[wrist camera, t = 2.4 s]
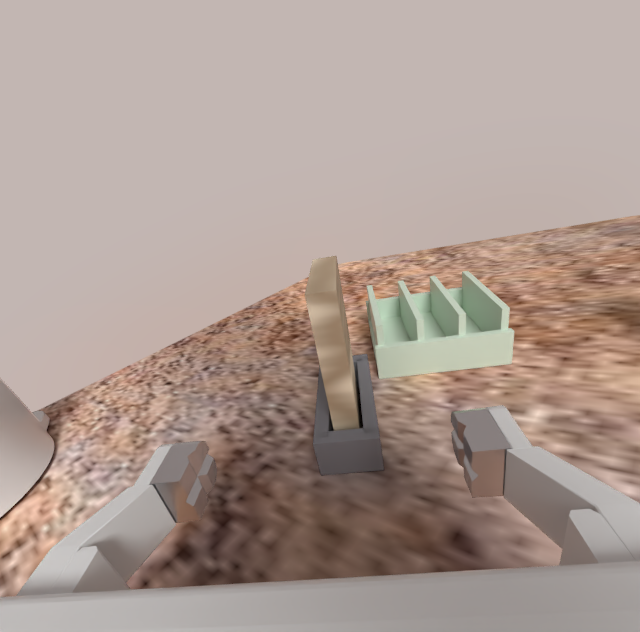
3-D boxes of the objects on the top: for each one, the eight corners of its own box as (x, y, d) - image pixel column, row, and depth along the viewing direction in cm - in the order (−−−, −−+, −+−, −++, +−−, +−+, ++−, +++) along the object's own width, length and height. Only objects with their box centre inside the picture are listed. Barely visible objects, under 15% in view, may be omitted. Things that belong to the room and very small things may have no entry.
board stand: (321, 475, 23) (313, 444, 22) (325, 385, 32) (320, 359, 31) (384, 470, 22) (379, 438, 21) (370, 380, 31) (367, 353, 30)
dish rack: (379, 379, 31) (372, 328, 29) (369, 325, 41) (363, 284, 39) (511, 363, 30) (516, 309, 28) (468, 312, 40) (468, 269, 37)
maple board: (339, 456, 24) (304, 294, 19) (338, 394, 30) (313, 259, 25) (363, 454, 24) (336, 289, 18) (358, 392, 30) (336, 255, 25)
